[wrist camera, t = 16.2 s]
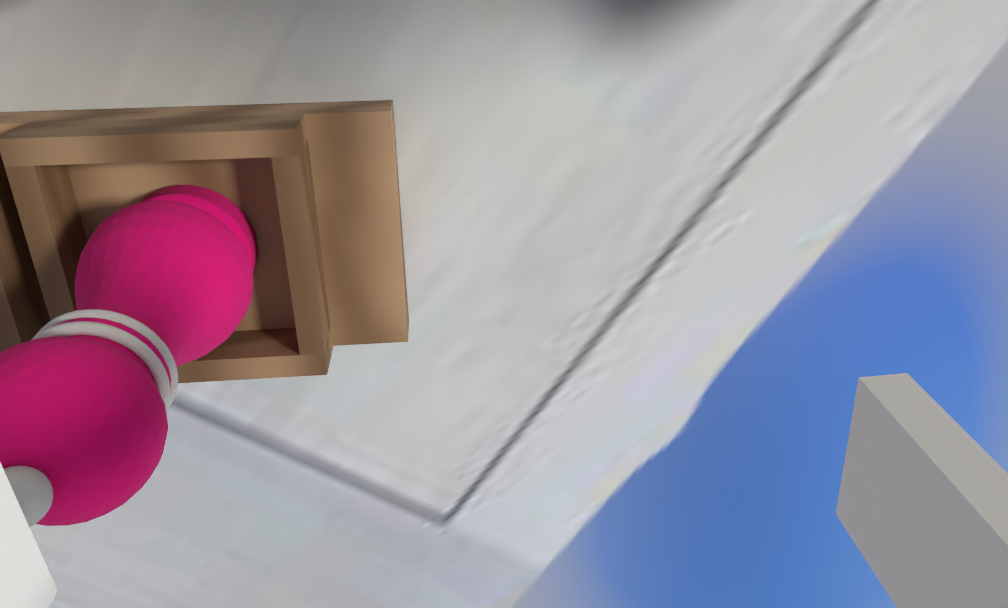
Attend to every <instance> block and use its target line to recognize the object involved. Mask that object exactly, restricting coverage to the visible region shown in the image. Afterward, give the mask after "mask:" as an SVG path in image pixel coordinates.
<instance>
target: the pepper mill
mask: <svg viewBox="0 0 1008 608" xmlns="http://www.w3.org/2000/svg"><path fill="white" fill-rule="evenodd" d="M257 258H258V245H257V238H256V235H255V232H254V229H253V227H252V225H251V224H250V222H249V220H248V218H247V217H246V215H245V214H244V213H243V212H242V211H241V209H240V208H239V207H238V206H237V205H236V204H234V203H233V202H232V201H231V200H229V199H228V198H226V197H225V196H223V195H221V194H219V193H217V192H215V191H213V190H210V189H207V188H205V187H200V186H194V185H173V186H168V187H164V188H161V189H159V190H156V191H154V192H152V193H151V194H149V195H148V196H146V197H145V198H144V199H142V200H141V201H140V202H139V203H135V204H132V205H130V206H127V207H125V208H122V209H120V210H119V211H117V212H115V213H114V214H112V215H111V216H109V217H107V218H106V219H105V220H104V221H103V222H102V223H101V224H100V225H99V226H98V227H97V229H96V230H95V232H94V233H93V234H92V236H91V237H90V238H89V240H88V242H87V243H86V245H85V247H84V249H83V251H82V252H81V255H80V258H79V262H78V266H77V270H76V278H75V288H74V289H75V298H76V308H77V311H73V312H68V313H65V314H63V315H60V316H58V317H56V318H55V319H53V320H51V321H50V322H49V323H47V324H46V325H45V326H44V327H42V328H41V329H40V331H39V332H38V333H37V334H36V335H35V337H33V338H32V339H31V340H30V341H27V342H24V343H21V344H18V345H15V346H12V347H10V348H8V349H7V350H5V351H3V352H1V353H0V463H1V465H2V467H3V469H4V472H5V474H6V476H7V478H8V481H9V483H10V485H11V487H12V490H13V492H14V494H15V496H16V499H17V501H18V503H19V505H20V508H21V510H22V512H23V514H24V517H25V519H26V521H27V523H28V526H29V527H30V526H32V525H34V524H40V525H46V526H55V525H71V524H77V523H82V522H87V521H89V520H92V519H95V518H97V517H100V516H102V515H105V514H107V513H109V512H110V511H112V510H114V509H116V508H117V507H119V506H121V505H123V504H124V503H125V502H126V501H127V500H129V499H130V498H131V497H132V496H133V495H134V494H135V493H136V492H137V491H138V490H140V489H141V488H142V487H143V485H144V484H145V483H146V482H147V480H148V479H149V478H150V476H151V475H152V473H153V471H154V470H155V468H156V467H157V465H158V463H159V461H160V459H161V456H162V453H163V450H164V445H165V440H166V435H167V431H168V423H167V416H166V413H167V410H168V408H169V407H170V405H171V403H172V401H173V399H174V397H175V394H176V391H177V385H178V372H177V367H178V366H181V365H183V364H185V363H188V362H191V361H194V360H197V359H199V358H201V357H203V356H204V355H206V354H208V353H209V352H211V351H212V350H213V349H215V348H216V347H218V346H219V345H220V344H222V343H223V342H224V341H226V340H227V339H228V338H229V336H230V335H231V334H232V333H233V332H234V331H235V329H236V328H237V326H238V325H239V323H240V322H241V320H242V319H243V318H244V316H245V315H246V312H247V310H248V308H249V305H250V303H251V299H252V293H253V272H254V270H255V267H256V264H257Z"/></svg>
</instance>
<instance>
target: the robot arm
mask: <svg viewBox="0 0 1008 608" xmlns="http://www.w3.org/2000/svg"><path fill="white" fill-rule="evenodd" d="M836 515H837V516H838V518H839V519H840V521H841V522H842V524H843V526H844V527H845V529H846V530H847V532H848V533H849V535H850V536H851V538H852V539H853V541H854V542H855V544H856V546H857V547H858V549H859V550H860V551H861V553H862V554H863V556H864V558H865V559H866V561H867V562H868V564H869V565H870V567H871V569H872V570H873V572H874V573H875V575H876V576H877V578H878V579H879V581H880V582H881V584H882V585H883V587H884V589H885V590H886V592H887V593H888V595H889V596H890V598H891V599H892V601H893V602H894V604H895V605H896V607H897V608H1008V474H1007V473H1006V472H1005V471H1004V470H1003V469H1002V468H1001V467H1000V466H999V465H998V464H997V463H996V462H995V461H994V460H993V459H992V458H991V457H990V456H989V455H988V454H987V453H986V452H985V451H984V450H983V449H982V448H981V447H980V446H979V445H978V444H977V443H976V442H975V441H974V440H973V439H972V438H971V437H970V436H969V435H968V434H967V433H966V432H965V431H964V430H963V429H962V428H961V427H960V426H959V425H958V424H957V423H956V422H955V421H954V420H953V419H952V418H951V417H950V416H949V415H948V414H947V413H946V412H945V411H944V410H943V409H942V408H941V407H940V406H939V405H938V404H937V403H936V402H935V401H934V400H933V399H932V398H931V397H930V396H929V395H928V394H927V393H926V392H925V391H924V390H923V389H922V388H921V387H920V386H919V385H918V384H917V383H916V382H915V381H914V380H913V379H912V378H911V377H910V376H909V375H908V374H907V373H903V374H893V375H881V376H871V377H860V378H859V379H858V385H857V391H856V397H855V403H854V409H853V416H852V421H851V427H850V433H849V439H848V445H847V451H846V457H845V463H844V468H843V474H842V480H841V486H840V492H839V499H838V504H837V511H836ZM57 592H58V591H57V588H56V586H55V584H54V582H53V579H52V577H51V575H50V573H49V570H48V568H47V566H46V564H45V562H44V559H43V557H42V555H41V553H40V550H39V548H38V546H37V544H36V541H35V539H34V537H33V535H32V532H31V530H30V528H29V526H28V523H27V521H26V519H25V517H24V514H23V512H22V510H21V508H20V505H19V503H18V501H17V499H16V496H15V494H14V492H13V490H12V487H11V485H10V483H9V481H8V478H7V476H6V474H5V472H4V469H3V467H2V465H1V463H0V608H49V606H50V604H51V602H52V601H53V599H54V597H55V595H56V594H57Z"/></svg>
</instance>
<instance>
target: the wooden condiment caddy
mask: <svg viewBox="0 0 1008 608" xmlns="http://www.w3.org/2000/svg"><path fill="white" fill-rule="evenodd" d="M173 185H194V186H200V187H205V188H207V189H210V190H213V191H215V192H217V193H219V194H221V195H223V196H225V197H226V198H228V199H229V200H231V201H232V202H233V203H234V204H236V205H237V206H238V207H239V208H240V209H241V211H242V212H243V213H244V214H245V215H246V217H247V218H248V220H249V222H250V224H251V225H252V227H253V229H254V232H255V235H256V238H257V245H258V258H257V264H256V267H255V270H254V272H253V293H252V299H251V303H250V305H249V308H248V310H247V312H246V315H245V316H244V318H243V319H242V320H241V322H240V323H239V325H238V326H237V328H236V329H235V331H234V332H233V333H232V334H231V335H230V336H229V338H228V339H227V340H226V341H224V342H223V343H222V344H220V345H219V346H218V347H216V348H215V349H213V350H212V351H211V352H209V353H208V354H206V355H204V356H203V357H201V358H199V359H197V360H194V361H191V362H188V363H185V364H183V365H181V366H178V367H177V372H178V383H189V382H206V381H224V380H241V379H258V378H276V377H293V376H311V375H327V372H328V368H329V363H330V358H331V353H332V349H333V346H336V345H355V344H373V343H391V342H408V327H409V317H408V304H407V290H406V277H405V263H404V249H403V236H402V222H401V208H400V195H399V181H398V168H397V154H396V140H395V127H394V113H393V100H385V101H353V102H320V103H288V104H255V105H223V106H190V107H158V108H125V109H93V110H60V111H28V112H0V353H1V352H3V351H5V350H7V349H8V348H10V347H12V346H15V345H18V344H21V343H24V342H27V341H30V340H31V339H32V338H33V337H35V335H36V334H37V333H38V332H39V331H40V329H41V328H42V327H44V326H45V325H46V324H47V323H49V322H50V321H51V320H53V319H55V318H56V317H58V316H60V315H63V314H65V313H68V312H73V311H77V308H76V298H75V289H74V288H75V278H76V270H77V266H78V262H79V258H80V255H81V252H82V251H83V249H84V247H85V245H86V243H87V242H88V240H89V238H90V237H91V236H92V234H93V233H94V232H95V230H96V229H97V227H98V226H99V225H100V224H101V223H102V222H103V221H104V220H105V219H106V218H107V217H109V216H111V215H112V214H114V213H115V212H117V211H119V210H120V209H122V208H125V207H127V206H130V205H132V204H135V203H139V202H140V201H141V200H142V199H144V198H145V197H146V196H148V195H149V194H151V193H152V192H154V191H156V190H159V189H161V188H164V187H168V186H173Z"/></svg>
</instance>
